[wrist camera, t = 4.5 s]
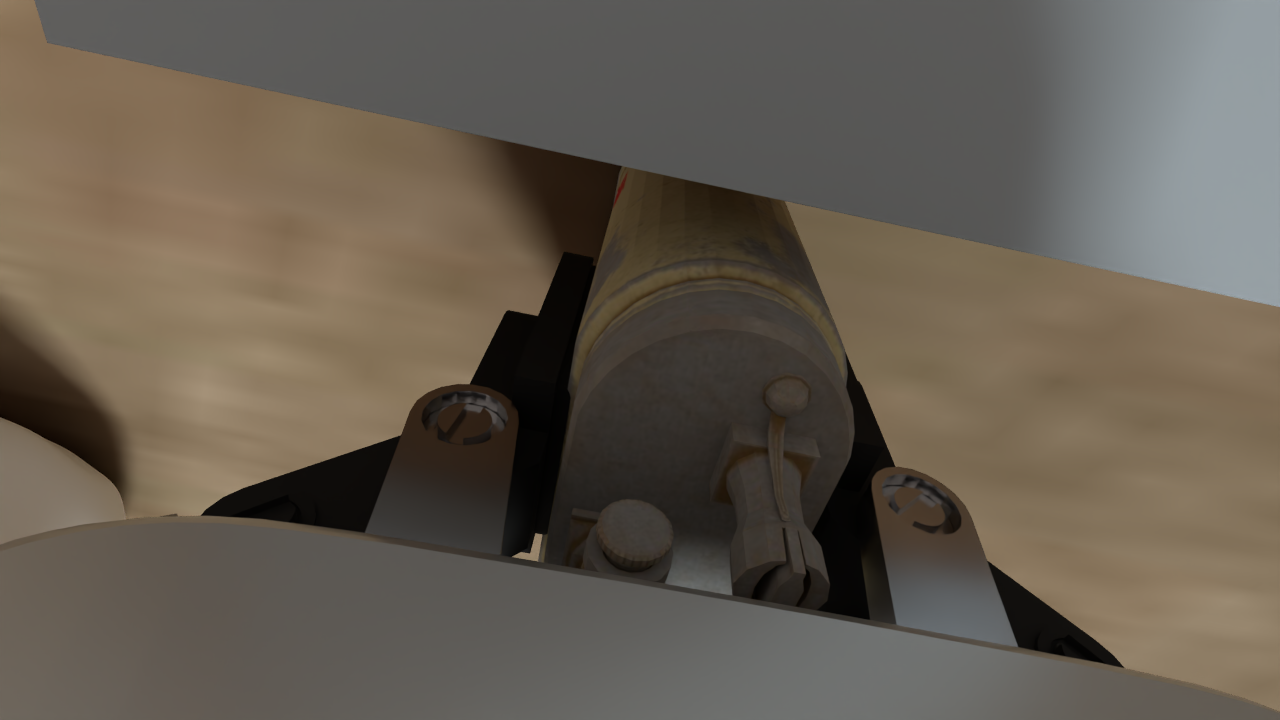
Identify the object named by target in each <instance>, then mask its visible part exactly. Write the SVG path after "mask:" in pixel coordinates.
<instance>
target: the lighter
mask: <svg viewBox="0 0 1280 720" xmlns="http://www.w3.org/2000/svg"><path fill="white" fill-rule="evenodd" d="M847 375H848V372H847V363H846V355H845V349H844V346H843V343H842V341H841V338H840V336H839V333H838V330H837V328H836V325H835V323H834V320H833V318H832V316H831V313H830V311H829V308H828V306H827V303H826V301H825V299H824V296H823V294H822V291H821V289H820V286H819V284H818V282H817V279H816V277H815V274H814V272H813V269H812V267H811V265H810V262H809V260H808V257H807V255H806V252H805V250H804V247H803V245H802V243H801V240H800V238H799V235H798V233H797V230H796V228H795V226H794V223H793V221H792V218H791V216H790V213H789V211H788V209H787V206H786V204H785V201H783V200H779V199H774V198H769V197H765V196H760V195H755V194H751V193H746V192H741V191H737V190H732V189H727V188H723V187H718V186H713V185H709V184H704V183H699V182H695V181H690V180H685V179H681V178H676V177H671V176H667V175H662V174H657V173H653V172H648V171H643V170H639V169H634V168H629V167H625V166H622V168H621V170H620V172H619V176H618V182H617V187H616V193H615V198H614V204H613V209H612V213H611V217H610V220H609V224H608V227H607V231H606V235H605V238H604V242H603V245H602V249H601V252H600V256H599V260H598V263H597V267H596V270H595V274H594V278H593V281H592V285H591V288H590V292H589V295H588V299H587V303H586V306H585V310H584V313H583V317H582V321H581V324H580V328H579V331H578V335H577V339H576V343H575V348H574V354H573V360H572V366H571V372H570V378H569V383H568V391H569V393H570V397H571V399H570V405H569V411H568V416H567V422H566V428H565V434H564V440H563V446H562V452H561V458H560V463H559V469H558V475H557V481H556V487H555V493H554V499H553V505H552V511H551V516H550V522H549V528H548V534H546V535H542V541H541V547H540V553H539V559H538V561H539V562H543V563H549V564H554V565H560V566H566V567H572V568H578V569H584V570H589V571H595V572H601V573H607V574H613V575H619V576H624V577H630V578H636V579H642V580H647V581H653V582H659V583H664V584H670V585H676V586H681V587H687V588H693V589H698V590H704V591H710V592H715V593H721V594H727V595H732V596H738V597H744V598H749V599H755V600H761V601H766V602H772V603H777V604H783V605H789V606H794V607H800V608H805V609H811V610H817V609H819V608H820V607H821V606H822V605H823V604H824V603H825V602H827V599H828V594H829V588H830V583H829V579H828V574H827V570H826V566H825V561H824V557H823V553H822V549H821V546H820V544H819V543H818V541H817V540H816V539H815V537H814V536H813V535H812V532H813V530H814V528H815V526H816V524H817V522H818V520H819V518H820V516H821V514H822V512H823V510H824V508H825V506H826V504H827V502H828V501H829V499H830V497H831V495H832V493H833V491H834V489H835V487H836V485H837V483H838V481H839V479H840V477H841V475H842V473H843V471H844V469H845V468H846V466H847V463H848V461H849V459H850V457H851V452H852V446H853V440H854V434H855V431H854V417H853V407H852V404H851V401H850V398H849V395H848V392H847V389H846V383H847Z"/></svg>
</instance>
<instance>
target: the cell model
mask: <svg viewBox="0 0 1280 720" xmlns="http://www.w3.org/2000/svg"><path fill="white" fill-rule="evenodd" d="M117 520H126V516H125V510H124V505H123V501H122V498H121V496H120V493H119V491H118V490H117V488H116V487H115V486H114V484H113V483H112V482H111V481H110V480H109V479H108V478H107V477H105V476H104V475H103V474H101V473H100V472H98V471H97V470H96V469H94V468H93V467H92V466H90V465H89V464H87V463H86V462H85V461H84V460H82V459H81V458H79V457H78V456H77V455H75V454H74V453H72V452H71V451H69V450H67V449H65V448H64V447H62V446H60V445H58V444H56V443H53V442H51V441H49V440H47V439H44V438H43V437H41V436H40V435H38V434H36V433H34V432H32V431H31V430H29V429H27V428H24V427H22V426H20V425H18V424H15V423H13V422H11V421H8V420H6V419H3V418H1V417H0V545H1V544H4V543H6V542H9V541H12V540H15V539H19V538H23V537H27V536H31V535H35V534H39V533H43V532H47V531H52V530H57V529H62V528H67V527H72V526H77V525H83V524H91V523H100V522H108V521H117Z"/></svg>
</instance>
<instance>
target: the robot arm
mask: <svg viewBox="0 0 1280 720" xmlns="http://www.w3.org/2000/svg"><path fill="white" fill-rule="evenodd" d="M596 267H597V266H593V258H592V257H587V256H582V255H578V254H573V253H568V252H564V253H563V256H562V258H561V261H560V263H559V266H558V268H557V271H556V273H555V276H554V278H553V281H552V283H551V286H550V288H549V290H548V293H547V295H546V298H545V300H544V303H543V305H542V308H541V310H540V313H539V315H538V316H535V315H530V314H525V313H520V312H515V311H510V310H508V311H506V313H505V314H504V316H503V318H502V320H501V322H500V324H499V326H498V328H497V330H496V332H495V334H494V336H493V338H492V340H491V342H490V344H489V346H488V348H487V350H486V352H485V355H484V357H483V359H482V361H481V363H480V365H479V367H478V369H477V371H476V373H475V375H474V377H473V379H472V381H471V383H470V385H469V384H456V385H450V386H445V387H440V388H438V389H435V390H433V391H430V392H428V393H427V394H425V395H424V396H423V397H421V398H420V399H419V400H417V401H416V403H415V404H414V406H413V407H412V409H411V411H410V413H409V416H408V418H407V421H406V424H405V426H404V429H403V432H402V435H401V436H398V437H395V438H392V439H389V440H386V441H383V442H380V443H377V444H374V445H371V446H368V447H365V448H362V449H359V450H356V451H353V452H350V453H347V454H344V455H341V456H338V457H335V458H332V459H329V460H326V461H323V462H320V463H317V464H314V465H311V466H308V467H305V468H302V469H299V470H296V471H293V472H290V473H287V474H284V475H281V476H278V477H275V478H272V479H269V480H266V481H263V482H261V483H258V484H255V485H252V486H249V487H246V488H243V489H241V490H238V491H236V492H234V493H232V494H229V495H227V496H225V497H223V498H222V499H220V500H219V501H217V502H216V503H215V504H213V505H212V506H210V507H209V508H208V509H206V510H205V511H204V513H203V514H202V515H201V516H178V515H177V514H171V515H166V516H160V517H143V518H134V519H126V520H117V521H108V522H100V523H91V524H83V525H77V526H72V527H67V528H62V529H57V530H52V531H47V532H43V533H39V534H35V535H31V536H27V537H23V538H19V539H15V540H12V541H9V542H6V543H4V544H1V545H0V720H1280V712H1279V711H1277V710H1274V709H1271V708H1269V707H1266V706H1264V705H1261V704H1258V703H1256V702H1253V701H1250V700H1248V699H1245V698H1242V697H1238V696H1235V695H1232V694H1228V693H1225V692H1221V691H1218V690H1215V689H1211V688H1208V687H1204V686H1201V685H1197V684H1193V683H1189V682H1184V681H1180V680H1175V679H1171V678H1166V677H1162V676H1157V675H1153V674H1148V673H1144V672H1139V671H1135V670H1130V669H1126V668H1124V667H1123V666H1122V665H1121V664H1120V662H1119V661H1118V660H1117V659H1116V658H1115V657H1114V656H1113V655H1112V654H1111V653H1110V652H1109V651H1108V650H1106V649H1105V648H1104V647H1103V646H1102V645H1100V644H1099V643H1098V642H1097V641H1096V640H1094V639H1093V638H1092V637H1090V636H1089V635H1088V634H1086V633H1085V632H1084V631H1082V630H1081V629H1079V628H1078V627H1077V626H1075V625H1074V624H1073V623H1071V622H1070V621H1069V620H1067V619H1066V618H1064V617H1063V616H1062V615H1060V614H1059V613H1058V612H1056V611H1055V610H1054V609H1052V608H1051V607H1050V606H1048V605H1047V604H1045V603H1044V602H1043V601H1041V600H1040V599H1039V598H1037V597H1036V596H1035V595H1033V594H1032V593H1030V592H1029V591H1028V590H1026V589H1025V588H1024V587H1022V586H1021V585H1020V584H1018V583H1017V582H1015V581H1014V580H1013V579H1011V578H1010V577H1009V576H1007V575H1006V574H1005V573H1003V572H1002V571H1001V570H999V569H998V568H996V567H995V566H994V565H992V564H991V563H990V562H988V561H987V559H986V556H985V554H984V551H983V548H982V545H981V543H980V540H979V537H978V534H977V531H976V529H975V526H974V523H973V520H972V518H971V516H970V514H969V512H968V510H967V508H966V506H965V505H964V504H963V502H962V501H961V500H960V499H959V498H958V497H957V496H956V495H955V493H953V492H952V491H951V490H950V489H948V488H947V487H946V486H944V485H943V484H942V483H940V482H939V481H937V480H935V479H933V478H932V477H930V476H928V475H926V474H923V473H921V472H918V471H915V470H913V469H908V468H902V467H895V465H894V462H893V460H892V457H891V455H890V452H889V450H888V448H887V445H886V443H885V440H884V438H883V436H882V433H881V431H880V428H879V426H878V423H877V421H876V419H875V416H874V414H873V411H872V409H871V407H870V404H869V402H868V399H867V397H866V394H865V392H864V390H863V387H862V385H861V384H860V382H859V381H857V379H856V377H855V374H854V372H853V369H852V367H851V364H850V362H849V360H848V357H847V355H846V352H845V355H846V363H847V372H848V375H847V383H846V389H847V392H848V395H849V398H850V401H851V404H852V407H853V417H854V431H855V434H854V440H853V446H852V452H851V457H850V459H849V461H848V463H847V466H846V468H845V469H844V471H843V473H842V475H841V477H840V479H839V481H838V483H837V485H836V487H835V489H834V491H833V493H832V495H831V497H830V499H829V501H828V502H827V504H826V506H825V508H824V510H823V512H822V514H821V516H820V518H819V520H818V522H817V524H816V526H815V528H814V530H813V532H812V535H813V536H814V537H815V539H816V540H817V541H818V543H819V544H820V546H821V549H822V553H823V557H824V561H825V566H826V570H827V574H828V579H829V583H830V588H829V594H828V599H827V602H825V603H824V604H823V605H822V606H821V607H820V608H819V609H817V610H811V609H805V608H800V607H794V606H789V605H783V604H777V603H772V602H766V601H761V600H755V599H749V598H744V597H738V596H732V595H727V594H721V593H715V592H710V591H704V590H698V589H693V588H687V587H681V586H676V585H670V584H664V583H659V582H653V581H647V580H642V579H636V578H630V577H624V576H619V575H613V574H607V573H601V572H595V571H589V570H584V569H578V568H572V567H566V566H560V565H554V564H549V563H543V562H537V561H531V560H525V559H519V558H514V557H512V556H514V555H516V554H518V553H520V552H525V553H530V552H531V548H532V544H533V540H534V536H535V533H538V534H543V535H546V534H548V528H549V522H550V516H551V511H552V505H553V499H554V493H555V487H556V481H557V475H558V469H559V463H560V458H561V452H562V446H563V440H564V434H565V428H566V422H567V416H568V411H569V405H570V399H571V397H570V393H569V391H568V383H569V378H570V372H571V366H572V360H573V354H574V348H575V343H576V339H577V335H578V331H579V328H580V324H581V321H582V317H583V313H584V310H585V306H586V303H587V299H588V295H589V292H590V288H591V285H592V281H593V278H594V274H595V270H596Z"/></svg>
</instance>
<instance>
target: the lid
mask: <svg viewBox="0 0 1280 720" xmlns="http://www.w3.org/2000/svg"><path fill="white" fill-rule="evenodd" d="M35 3H36V7H37V10H38V13H39V17H40V20H41V23H42V27H43V30H44V33H45V36H46V40H47V43H51V44H56V45H60V46H65V47H70V48H74V49H79V50H84V51H88V52H93V53H98V54H102V55H107V56H112V57H116V58H121V59H126V60H130V61H135V62H140V63H144V64H149V65H154V66H158V67H163V68H168V69H172V70H177V71H181V72H186V73H191V74H195V75H200V76H205V77H209V78H214V79H219V80H223V81H228V82H233V83H237V84H242V85H247V86H251V87H256V88H261V89H265V90H270V91H275V92H279V93H284V94H289V95H293V96H298V97H303V98H307V99H312V100H317V101H321V102H326V103H331V104H335V105H340V106H345V107H349V108H354V109H359V110H363V111H368V112H373V113H377V114H382V115H387V116H391V117H396V118H401V119H405V120H410V121H415V122H419V123H424V124H429V125H433V126H438V127H443V128H447V129H452V130H457V131H461V132H466V133H471V134H475V135H480V136H485V137H489V138H494V139H499V140H503V141H508V142H513V143H517V144H522V145H527V146H531V147H536V148H541V149H545V150H550V151H555V152H559V153H564V154H569V155H573V156H578V157H583V158H587V159H592V160H597V161H601V162H606V163H611V164H615V165H620V166H625V167H629V168H634V169H639V170H643V171H648V172H653V173H657V174H662V175H667V176H671V177H676V178H681V179H685V180H690V181H695V182H699V183H704V184H709V185H713V186H718V187H723V188H727V189H732V190H737V191H741V192H746V193H751V194H755V195H760V196H765V197H769V198H774V199H779V200H783V201H788V202H793V203H797V204H802V205H807V206H811V207H816V208H821V209H825V210H830V211H835V212H839V213H844V214H849V215H853V216H858V217H863V218H867V219H872V220H877V221H881V222H886V223H891V224H895V225H900V226H905V227H909V228H914V229H919V230H923V231H928V232H933V233H937V234H942V235H947V236H951V237H956V238H961V239H965V240H970V241H975V242H979V243H984V244H989V245H993V246H998V247H1003V248H1007V249H1012V250H1017V251H1021V252H1026V253H1031V254H1035V255H1040V256H1044V257H1049V258H1054V259H1058V260H1063V261H1068V262H1072V263H1077V264H1082V265H1086V266H1091V267H1096V268H1100V269H1105V270H1110V271H1114V272H1119V273H1124V274H1128V275H1133V276H1138V277H1142V278H1147V279H1152V280H1156V281H1161V282H1166V283H1170V284H1175V285H1180V286H1184V287H1189V288H1194V289H1198V290H1203V291H1208V292H1212V293H1217V294H1222V295H1226V296H1231V297H1236V298H1240V299H1245V300H1250V301H1254V302H1259V303H1264V304H1268V305H1273V306H1278V307H1280V0H35Z"/></svg>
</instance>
